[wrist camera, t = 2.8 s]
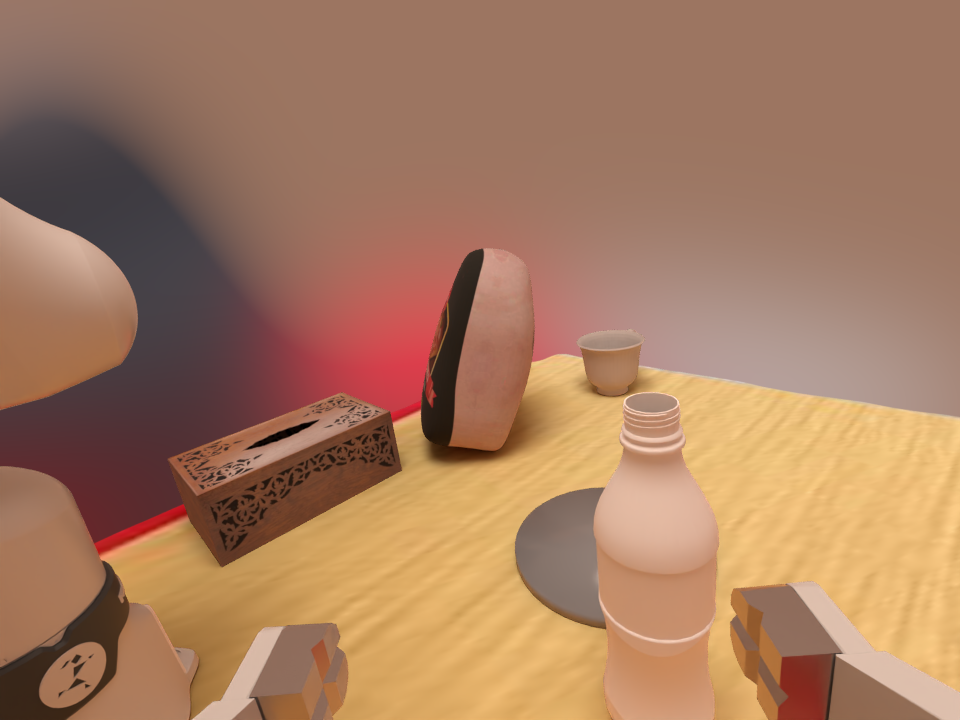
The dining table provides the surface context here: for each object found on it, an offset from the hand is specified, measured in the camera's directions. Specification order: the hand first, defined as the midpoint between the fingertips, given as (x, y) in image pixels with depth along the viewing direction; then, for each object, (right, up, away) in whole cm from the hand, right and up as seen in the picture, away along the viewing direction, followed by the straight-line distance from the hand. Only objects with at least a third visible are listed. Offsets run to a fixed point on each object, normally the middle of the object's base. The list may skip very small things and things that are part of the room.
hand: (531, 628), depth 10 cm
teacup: (+25, 0, +83) cm, 87 cm away
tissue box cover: (-27, -14, +61) cm, 68 cm away
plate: (+13, -15, +42) cm, 46 cm away
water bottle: (+12, -21, +25) cm, 34 cm away
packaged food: (0, -7, +72) cm, 72 cm away
